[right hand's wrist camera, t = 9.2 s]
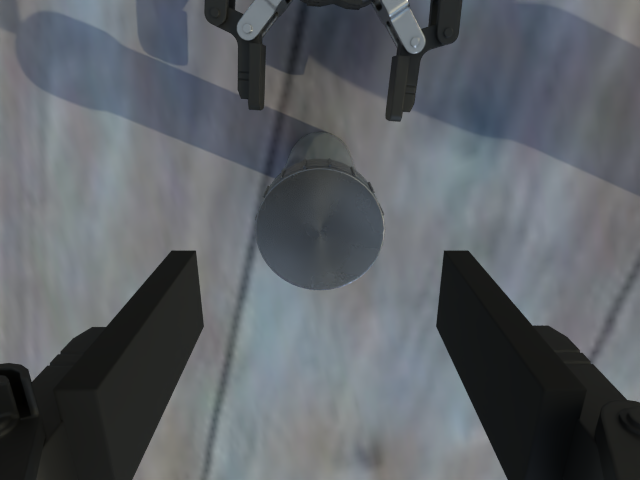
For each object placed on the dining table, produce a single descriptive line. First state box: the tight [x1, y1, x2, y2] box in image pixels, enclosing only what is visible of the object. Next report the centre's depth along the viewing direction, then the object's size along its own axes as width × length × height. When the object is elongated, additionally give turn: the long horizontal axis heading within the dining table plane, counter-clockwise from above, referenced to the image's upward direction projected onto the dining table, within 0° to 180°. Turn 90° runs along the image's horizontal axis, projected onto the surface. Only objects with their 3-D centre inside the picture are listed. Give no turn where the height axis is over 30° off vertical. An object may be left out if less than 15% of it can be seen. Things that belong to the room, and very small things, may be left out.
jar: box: [284, 132, 357, 171], centre depth 27 cm, size 5×5×16 cm
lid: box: [255, 158, 385, 290], centre depth 21 cm, size 6×6×2 cm
